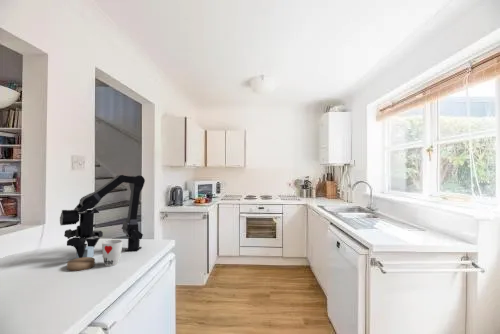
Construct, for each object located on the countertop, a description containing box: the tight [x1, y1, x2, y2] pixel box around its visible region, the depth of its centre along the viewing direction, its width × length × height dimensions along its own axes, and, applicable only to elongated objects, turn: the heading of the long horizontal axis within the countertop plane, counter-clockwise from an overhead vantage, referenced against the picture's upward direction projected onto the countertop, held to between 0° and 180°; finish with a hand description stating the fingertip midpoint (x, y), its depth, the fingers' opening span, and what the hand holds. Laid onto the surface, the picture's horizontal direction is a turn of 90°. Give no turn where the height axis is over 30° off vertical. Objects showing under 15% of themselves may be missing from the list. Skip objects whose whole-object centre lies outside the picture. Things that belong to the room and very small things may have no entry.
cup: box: [101, 239, 123, 267], centre depth 118 cm, size 8×8×10 cm
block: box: [75, 245, 95, 259], centre depth 124 cm, size 5×5×5 cm
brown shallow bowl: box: [66, 257, 96, 272], centre depth 113 cm, size 10×10×2 cm
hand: (85, 256), depth 124 cm, fingers open, 7 cm apart
